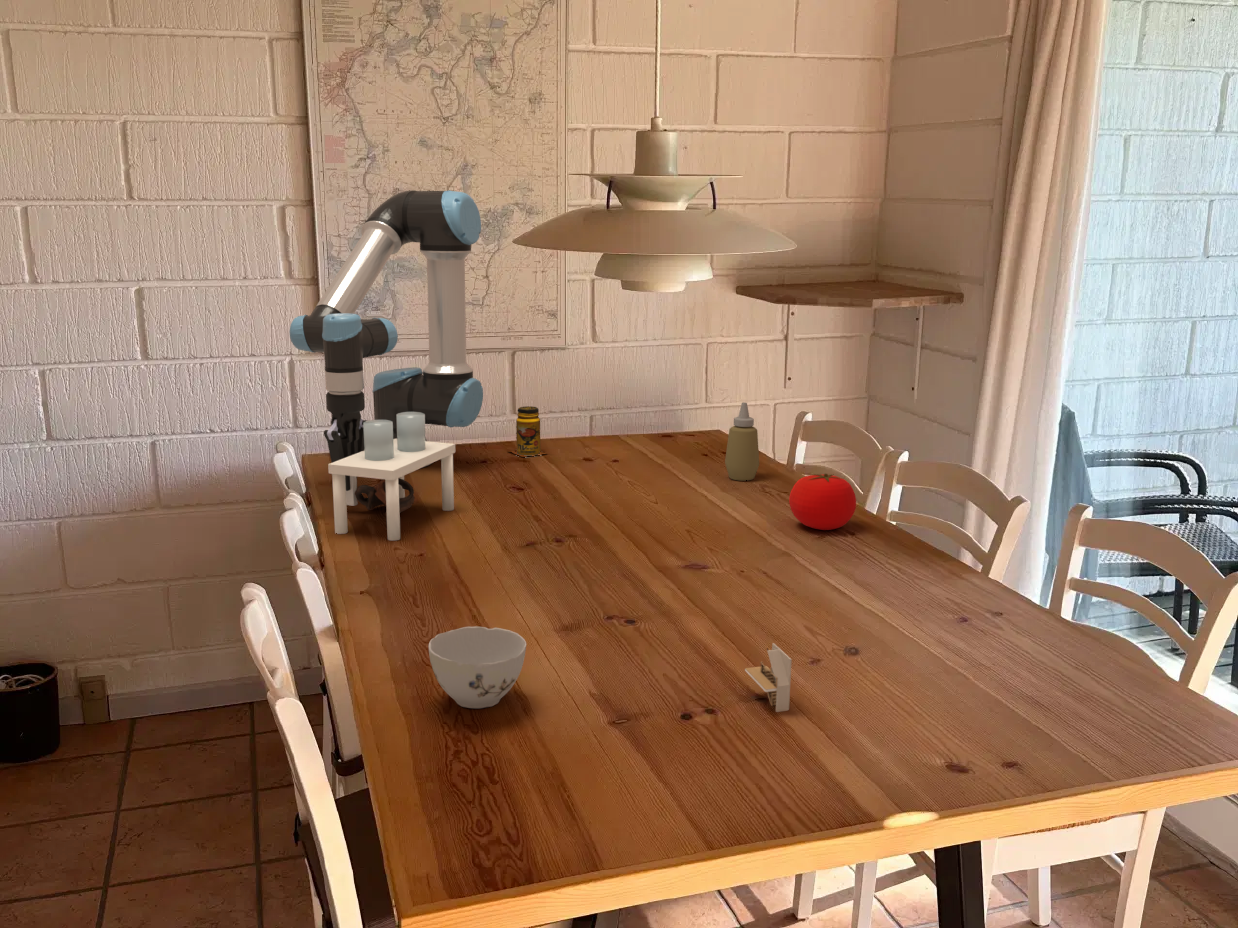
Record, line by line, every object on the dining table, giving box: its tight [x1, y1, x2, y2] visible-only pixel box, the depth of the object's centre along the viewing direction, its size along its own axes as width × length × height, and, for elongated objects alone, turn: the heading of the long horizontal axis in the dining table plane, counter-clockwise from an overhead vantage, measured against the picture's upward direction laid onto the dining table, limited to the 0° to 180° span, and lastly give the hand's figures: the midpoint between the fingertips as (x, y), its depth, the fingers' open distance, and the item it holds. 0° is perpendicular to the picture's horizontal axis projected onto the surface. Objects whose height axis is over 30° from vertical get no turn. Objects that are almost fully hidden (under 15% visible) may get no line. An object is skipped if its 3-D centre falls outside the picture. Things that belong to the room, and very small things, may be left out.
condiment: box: [515, 405, 542, 456], centre depth 282 cm, size 7×8×12 cm
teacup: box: [428, 626, 527, 709], centre depth 145 cm, size 15×12×8 cm
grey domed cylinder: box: [397, 412, 426, 452], centre depth 224 cm, size 6×6×7 cm
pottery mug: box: [355, 478, 415, 517], centre depth 229 cm, size 12×10×8 cm
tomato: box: [788, 473, 857, 531], centre depth 222 cm, size 12×13×11 cm
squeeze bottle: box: [724, 401, 760, 482], centre depth 259 cm, size 8×8×18 cm
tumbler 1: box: [363, 419, 394, 461], centre depth 216 cm, size 6×6×7 cm
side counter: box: [327, 439, 456, 542], centre depth 222 cm, size 25×14×14 cm, turn 161°
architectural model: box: [744, 642, 792, 713], centre depth 145 cm, size 3×7×7 cm, turn 16°
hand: (350, 504), depth 229 cm, fingers closed
